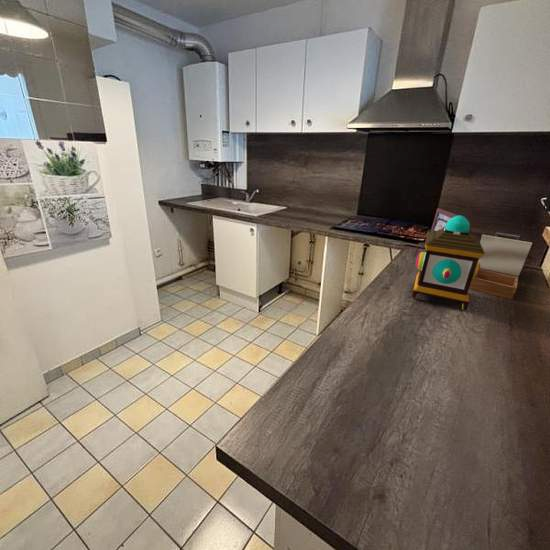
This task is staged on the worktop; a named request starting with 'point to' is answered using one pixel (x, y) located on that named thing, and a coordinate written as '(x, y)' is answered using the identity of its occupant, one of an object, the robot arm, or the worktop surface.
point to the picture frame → (441, 219)
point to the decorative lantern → (449, 262)
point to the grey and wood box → (504, 253)
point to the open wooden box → (495, 284)
